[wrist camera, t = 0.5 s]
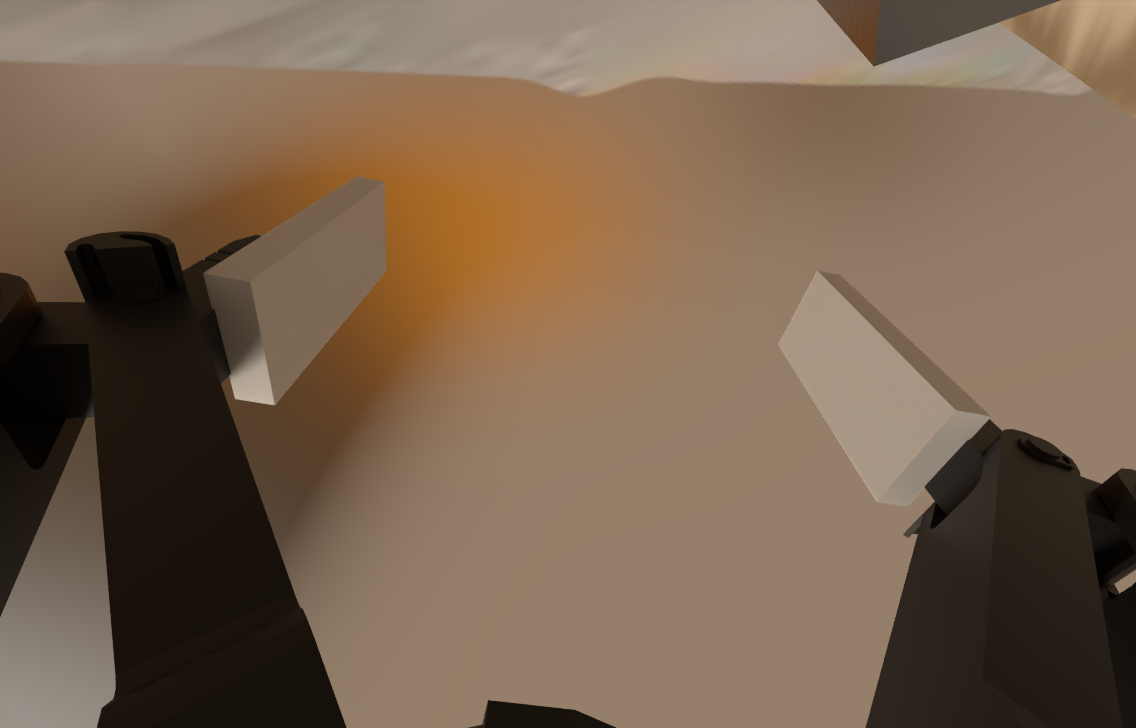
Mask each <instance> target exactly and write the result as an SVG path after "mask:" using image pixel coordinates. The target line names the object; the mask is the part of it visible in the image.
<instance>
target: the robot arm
mask: <svg viewBox="0 0 1136 728" xmlns="http://www.w3.org/2000/svg"><path fill="white" fill-rule="evenodd" d="M384 189H385V186H384V182H382V181H377V180H372V179H368V178H363V177H355V178H353V179H352V180H350V181H349V182H347V183H346V184H344V185H342V186H341V187H339V188H338V189H336V190H334V191H333V192H331V193H330V194H328V195H326V196H325V197H323V198H322V199H320V200H318V201H317V202H315V203H314V204H312V205H311V206H309V207H307V208H306V209H304V210H302V211H301V212H299V213H298V214H296V215H295V216H293V217H291V218H290V219H288V220H287V221H285V222H283V223H282V224H280V225H279V226H277V227H275V228H274V229H272V230H271V231H269V232H268V233H266V234H264V235H263V236H259V235H254V236H251V237H247V238H243V239H239V240H236V241H233V242H231V243H229V244H228V245H226V246H225V247H223V248H221V249H219V250H218V253H217V252H214V253H213V254H211V255H209V256H208V257H206V258H205V260H201V261H199V262H198V263H196V264H194V265H192V266H191V267H189V268H188V269H186V270H184V271H182V269H181V265H180V262H179V258H178V255H177V251H176V248H175V244H174V243H173V242H172V241H171V240H170V239H169V238H166V237H163V236H161V235H157V234H152V233H146V232H125V231H123V232H122V231H120V232H110V233H101V234H96V235H92V236H88V237H84V238H80V239H78V240H76V241H74V242H72V243H70V244H69V245H68V246H67V248H66V250H65V251H64V252H65V254H66V256H67V259H68V261H69V263H70V266H71V268H72V271H73V273H74V275H75V278H76V280H77V282H78V285H79V287H80V289H81V292H82V294H83V297H84V299H85V303H83V302H37V300H36V298H35V296H34V294H33V292H32V290H31V288H30V286H29V284H28V282H26V281H25V280H24V279H23V278H21V277H19V276H15V275H11V274H7V273H0V616H1V614H2V612H3V609H4V607H5V605H6V602H7V600H8V598H9V595H10V593H11V591H12V588H13V586H14V584H15V581H16V579H17V577H18V574H19V572H20V570H21V567H22V565H23V563H24V561H25V558H26V556H27V553H28V551H29V549H30V546H31V544H32V542H33V540H34V537H35V535H36V533H37V530H38V528H39V526H40V523H41V521H42V519H43V517H44V514H45V512H46V510H47V507H48V505H49V503H50V500H51V498H52V496H53V493H54V491H55V489H56V486H57V484H58V482H59V479H60V477H61V475H62V472H63V470H64V468H65V466H66V463H67V461H68V459H69V456H70V454H71V452H72V449H73V447H74V444H75V442H76V440H77V438H78V435H79V433H80V431H81V428H82V426H83V424H84V421H85V419H86V417H94V418H95V431H96V443H97V455H98V468H99V480H100V491H101V504H102V516H103V528H104V540H105V553H106V565H107V577H108V590H109V602H110V613H111V626H112V638H113V651H114V662H115V675H116V690H115V695H114V699H113V700H111V701H110V702H109V703H108V704H106V705H105V706H104V707H103V708H102V710H101V714H100V718H99V721H98V725H97V728H346V725H345V723H344V720H343V717H342V714H341V711H340V708H339V706H338V703H337V700H336V697H335V695H334V692H333V689H332V686H331V683H330V680H329V678H328V675H327V672H326V669H325V666H324V664H323V661H322V658H321V655H320V652H319V650H318V647H317V644H316V641H315V638H314V636H313V633H312V631H311V628H310V625H309V623H308V620H307V617H306V615H305V613H304V611H303V609H302V608H300V606H299V604H298V601H297V599H296V596H295V594H294V591H293V588H292V585H291V582H290V579H289V576H288V574H287V571H286V568H285V565H284V562H283V560H282V556H281V554H280V551H279V548H278V545H277V543H276V540H275V537H274V534H273V531H272V528H271V525H270V522H269V520H268V517H267V514H266V511H265V508H264V505H263V503H262V500H261V497H260V494H259V491H258V488H257V486H256V483H255V480H254V477H253V474H252V471H251V469H250V466H249V463H248V460H247V457H246V454H245V451H244V449H243V446H242V443H241V440H240V438H239V434H238V432H237V429H236V426H235V423H234V420H233V417H232V415H231V412H230V409H229V406H228V403H227V400H226V397H225V395H224V392H223V389H222V386H221V383H222V382H223V381H224V380H225V379H226V378H227V377H228V376H229V377H230V381H231V385H232V389H233V392H234V396H235V399H240V400H246V401H252V402H258V403H264V404H271V405H275V404H276V403H277V402H278V401H279V400H280V398H281V397H282V396H283V395H284V393H285V392H286V391H287V390H288V389H289V388H290V386H291V385H292V384H293V383H294V381H295V380H296V379H297V378H298V377H299V375H300V374H301V373H302V372H303V371H304V369H305V368H306V367H307V366H308V365H309V363H310V362H311V361H312V360H313V359H314V357H315V356H316V355H317V354H318V353H319V351H320V350H321V349H322V348H323V346H324V345H325V344H326V343H327V342H328V341H329V339H330V338H331V337H332V336H333V334H334V333H335V332H336V331H337V330H338V328H339V327H340V326H341V325H342V323H343V322H344V321H345V320H346V319H347V318H348V316H349V315H350V314H351V313H352V312H353V310H354V309H355V308H356V307H357V305H358V304H359V303H360V302H361V301H362V300H363V298H364V297H365V296H366V295H367V294H368V292H369V291H370V290H371V289H372V288H373V286H374V285H375V284H376V283H377V282H378V280H379V279H380V278H381V277H382V275H383V274H384V273H385V272H386V237H385V236H386V235H385V234H386V233H385V190H384ZM778 345H779V347H780V349H781V350H782V352H783V354H784V355H785V357H786V358H787V360H788V361H789V363H790V365H791V366H792V368H793V370H794V371H795V373H796V374H797V376H798V378H799V379H800V381H801V382H802V384H803V385H804V387H805V389H806V390H807V392H808V393H809V395H810V397H811V398H812V400H813V401H814V403H815V405H816V406H817V407H818V409H819V411H820V412H821V414H822V416H823V417H824V419H825V420H826V422H827V424H828V425H829V427H830V428H831V430H832V432H833V433H834V435H835V436H836V438H837V440H838V441H839V443H840V444H841V446H842V448H843V449H844V451H845V452H846V454H847V456H848V457H849V459H850V460H851V462H852V463H853V465H854V467H855V468H856V470H857V472H858V473H859V475H860V476H861V478H862V479H863V481H864V483H865V484H866V486H867V488H868V489H869V491H870V492H871V494H872V495H873V497H874V499H875V500H876V502H881V503H887V504H894V505H899V506H905V507H908V506H909V505H910V504H911V503H912V502H913V500H914V499H915V498H916V497H917V496H918V495H919V494H920V493H921V492H922V491H923V490H924V489H925V488H926V490H927V491H928V492H929V494H930V495H931V496H932V498H933V499H934V500H935V502H934V503H933V504H932V505H931V506H930V507H929V508H928V509H927V510H926V511H925V512H924V513H923V514H922V515H921V516H920V517H919V518H918V520H916V522H915V523H914V524H913V525H912V526H911V527H910V528H909V529H908V530H907V531H906V532H905V533H904V534H903V535H905V536H906V537H910V536H911V535H912V534H918V536H917V540H916V543H915V547H914V551H913V555H912V558H911V562H910V566H909V569H908V573H907V577H906V580H905V584H904V588H903V591H902V595H901V599H900V603H899V606H898V610H897V614H896V617H895V621H894V625H893V629H892V632H891V636H890V640H889V643H888V647H887V651H886V654H885V658H884V662H883V666H882V669H881V673H880V677H879V680H878V684H877V688H876V692H875V695H874V699H873V703H872V706H871V710H870V714H869V718H868V722H867V725H866V728H1136V582H1135V583H1134V584H1133V585H1132V586H1131V587H1129V588H1128V589H1126V590H1125V591H1123V592H1121V593H1120V594H1119V592H1118V590H1117V588H1116V587H1115V585H1114V584H1115V583H1116V582H1118V581H1119V580H1121V579H1122V578H1123V577H1125V576H1127V575H1128V574H1130V573H1131V572H1133V571H1134V570H1136V471H1135V470H1132V469H1120V470H1119V471H1118V472H1116V473H1115V474H1114V475H1112V476H1111V477H1110V478H1109V479H1108V480H1106V481H1105V482H1104V483H1103V484H1100V483H1097V482H1095V481H1092V480H1089V479H1086V478H1084V477H1081V476H1080V471H1079V470H1078V468H1077V466H1076V464H1075V463H1074V462H1073V460H1072V459H1071V458H1069V457H1068V456H1066V455H1065V454H1064V453H1062V452H1061V451H1060V450H1059V449H1058V448H1057V447H1055V446H1054V445H1053V444H1051V443H1049V442H1048V441H1046V440H1043V439H1041V438H1038V437H1035V436H1032V435H1030V434H1028V433H1025V432H1022V431H1018V430H1014V429H1007V430H1004V431H1002V430H1001V429H999V428H998V427H997V426H996V425H995V424H994V423H993V422H992V421H991V420H990V417H991V416H990V415H989V414H988V413H987V412H986V411H985V410H984V409H983V408H981V407H980V406H979V405H978V404H977V403H976V402H975V401H974V400H973V399H972V398H971V397H970V396H969V395H968V394H967V393H965V392H964V391H963V390H962V389H961V388H960V387H959V386H958V385H957V384H956V383H955V382H954V381H953V380H952V379H951V378H949V377H948V376H947V375H946V374H945V373H944V372H943V371H942V370H941V369H940V368H939V367H938V366H937V365H936V364H935V363H933V362H932V361H931V360H930V359H929V358H928V357H927V356H926V355H925V354H924V353H923V352H922V351H921V350H920V349H918V348H917V347H916V346H915V345H914V344H913V343H912V342H911V341H910V340H909V339H908V338H907V337H906V336H905V335H903V334H902V333H901V332H900V331H899V330H898V329H897V328H896V327H895V326H894V325H893V324H892V323H891V322H890V321H889V320H888V319H886V318H885V317H884V316H883V315H882V314H881V313H880V312H879V311H878V310H877V309H876V308H875V307H874V306H873V305H872V304H870V303H869V302H868V301H867V300H866V299H865V298H864V297H863V296H862V295H861V294H860V293H859V292H858V291H857V290H856V289H855V288H853V287H852V286H851V285H850V284H849V283H848V282H847V281H846V280H845V279H844V278H843V277H842V276H840V275H836V274H831V273H826V272H821V271H817V272H816V274H815V276H814V278H813V280H812V282H811V284H810V286H809V287H808V289H807V291H806V293H805V295H804V297H803V299H802V301H801V302H800V305H799V306H798V308H797V310H796V312H795V314H794V316H793V317H792V319H791V322H790V323H789V325H788V327H787V329H786V331H785V332H784V334H783V336H782V338H781V340H780V342H779V344H778ZM469 728H616V727H613V726H611V725H609V724H607V723H604V722H602V721H600V720H597V719H595V718H593V717H590V716H588V715H586V714H583V713H581V712H579V711H576V710H570V709H562V708H553V707H544V706H535V705H526V704H516V703H507V702H499V701H490V700H488V703H487V707H486V711H485V715H484V720H483V724H482V725H478V726H474V727H469Z"/></svg>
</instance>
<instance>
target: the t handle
mask: <svg viewBox="0 0 1136 728" xmlns="http://www.w3.org/2000/svg"><path fill="white" fill-rule="evenodd" d="M817 1H818V2H819V3H820V4H821V6H822V7H823V8H824V9H825V10H826V11H827V13H828V14H829V15H830V16H831V17H832V18H833V20H834V21H835V22H836V23H837V24H838V25H839V27H840V28H841V29H842V30H843V31H844V32H845V34H846V35H847V36H848V37H849V38H850V39H851V41H852V42H853V43H854V44H855V45H856V46H857V48H858V49H859V50H860V51H861V52H862V53H863V54H864V56H865V57H866V58H867V59H868V60H869V61H870V63H871V64H872V65H873V66H876V65H879V64H882V63H885V62H888V61H890V60H893V59H896V58H899V57H902V56H905V55H907V54H910V53H913V52H916V51H919V50H922V49H924V48H927V47H930V46H933V45H936V44H939V43H942V42H944V41H947V40H950V39H953V38H956V37H959V36H961V35H964V34H967V33H970V32H973V31H976V30H978V29H981V28H984V27H987V26H990V25H993V24H995V23H998V22H1001V21H1004V20H1007V19H1010V18H1013V17H1015V16H1018V15H1021V14H1024V13H1027V12H1030V11H1032V10H1035V9H1038V8H1041V7H1044V6H1047V5H1049V4H1052V3H1055V2H1058V1H1061V0H817Z"/></svg>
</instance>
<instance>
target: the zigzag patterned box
mask: <svg viewBox="0 0 1136 728" xmlns="http://www.w3.org/2000/svg"><path fill="white" fill-rule="evenodd" d="M999 23H1001V24H1002V25H1004V26H1005V27H1006V28H1008V29H1009V30H1011V31H1012V32H1013V33H1015V34H1016V35H1018V36H1019V37H1021V38H1022V39H1023V40H1025V41H1026V42H1028V43H1029V44H1030V45H1032V46H1033V47H1035V48H1036V49H1037V50H1039V51H1040V52H1042V53H1043V54H1045V55H1046V56H1047V57H1049V58H1050V59H1052V60H1053V61H1054V62H1056V63H1057V64H1059V65H1060V66H1061V67H1063V68H1064V69H1066V70H1067V71H1069V72H1070V73H1071V74H1073V75H1074V76H1076V77H1077V78H1078V79H1080V80H1081V81H1083V82H1084V83H1085V84H1087V85H1088V86H1090V87H1091V88H1093V89H1094V90H1095V91H1097V92H1098V93H1100V94H1101V95H1102V96H1104V97H1105V98H1107V99H1108V100H1110V101H1111V102H1112V103H1114V104H1115V105H1117V106H1118V107H1120V108H1121V109H1122V110H1124V111H1125V112H1126V113H1128V114H1129V115H1131V116H1132V117H1134V118H1135V119H1136V0H1061V1H1058V2H1055V3H1052V4H1049V5H1047V6H1044V7H1041V8H1038V9H1035V10H1032V11H1030V12H1027V13H1024V14H1021V15H1018V16H1015V17H1013V18H1010V19H1007V20H1004V21H1001V22H999Z"/></svg>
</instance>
